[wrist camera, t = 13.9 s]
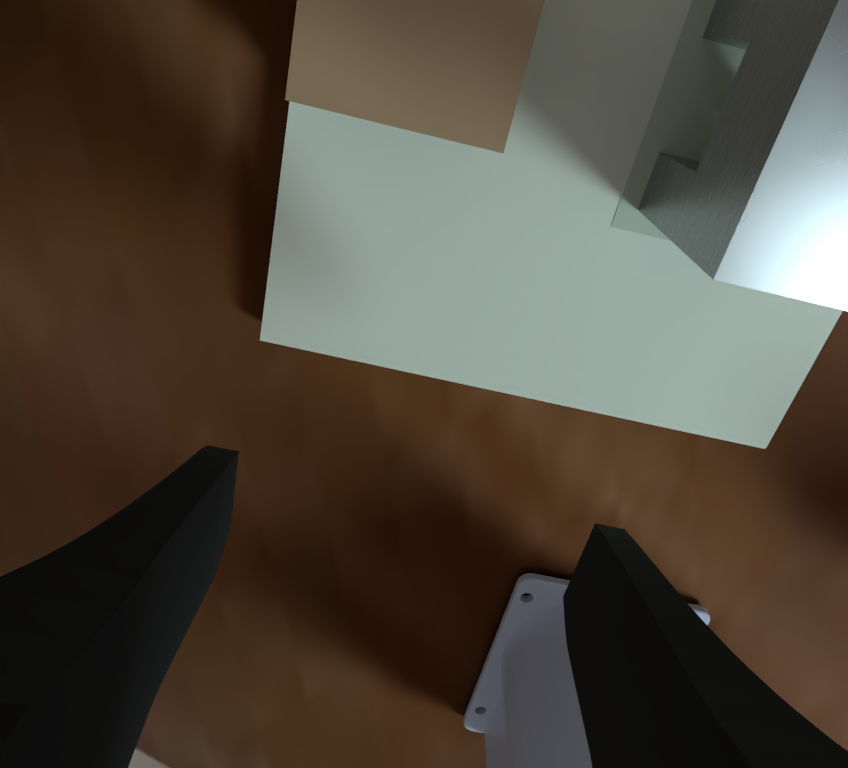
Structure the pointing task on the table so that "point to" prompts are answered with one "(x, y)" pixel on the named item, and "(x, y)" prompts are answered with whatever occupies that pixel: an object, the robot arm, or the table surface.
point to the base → (541, 240)
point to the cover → (416, 63)
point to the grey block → (769, 157)
